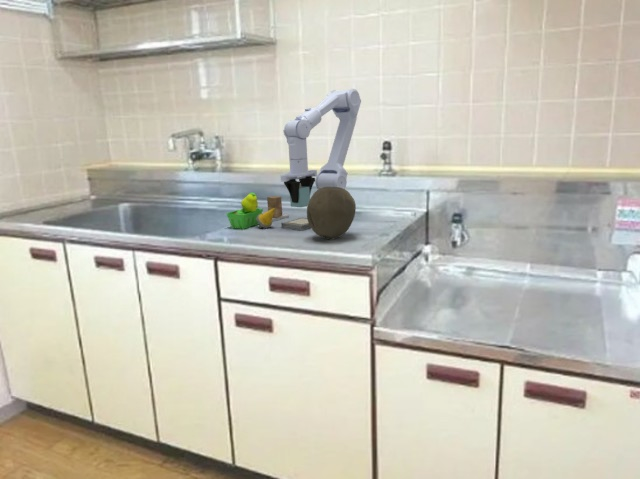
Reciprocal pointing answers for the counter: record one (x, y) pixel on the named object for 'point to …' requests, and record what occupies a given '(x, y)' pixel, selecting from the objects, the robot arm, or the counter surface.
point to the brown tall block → (275, 205)
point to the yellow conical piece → (265, 219)
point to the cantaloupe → (331, 212)
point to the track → (280, 217)
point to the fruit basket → (245, 213)
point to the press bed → (297, 224)
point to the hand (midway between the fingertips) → (300, 201)
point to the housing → (302, 197)
